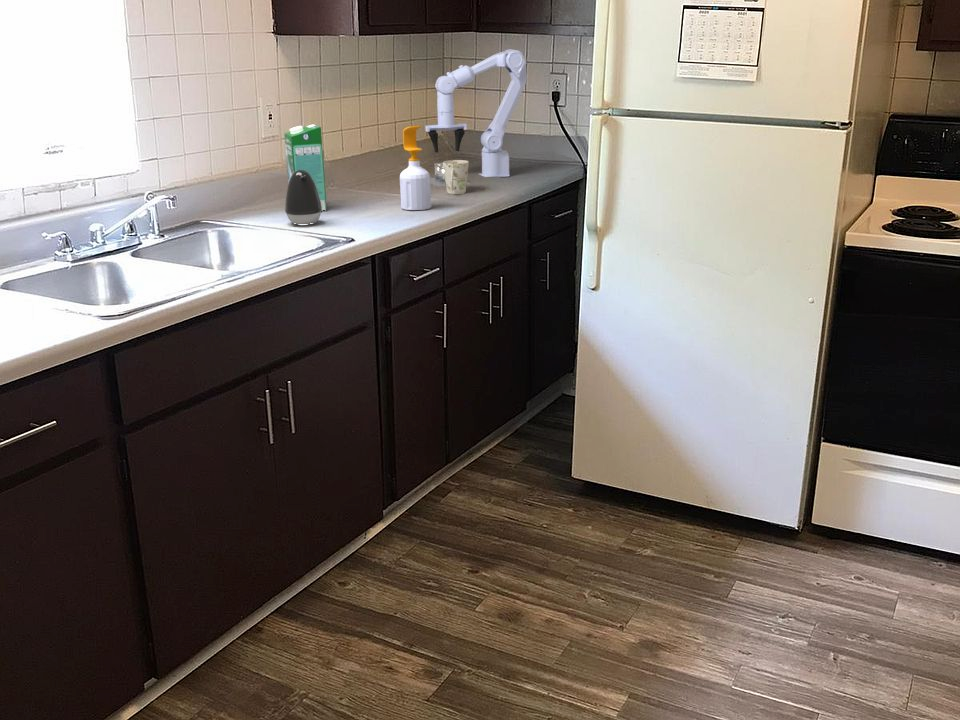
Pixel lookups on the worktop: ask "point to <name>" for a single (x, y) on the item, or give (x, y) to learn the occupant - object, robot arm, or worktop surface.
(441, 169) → the tin middle
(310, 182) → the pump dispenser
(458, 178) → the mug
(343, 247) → the worktop surface
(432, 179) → the slate board
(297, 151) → the milk carton
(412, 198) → the soap bottle
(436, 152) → the robot arm
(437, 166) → the tin left
